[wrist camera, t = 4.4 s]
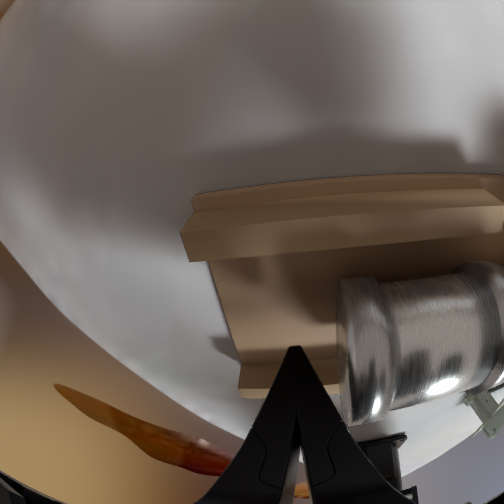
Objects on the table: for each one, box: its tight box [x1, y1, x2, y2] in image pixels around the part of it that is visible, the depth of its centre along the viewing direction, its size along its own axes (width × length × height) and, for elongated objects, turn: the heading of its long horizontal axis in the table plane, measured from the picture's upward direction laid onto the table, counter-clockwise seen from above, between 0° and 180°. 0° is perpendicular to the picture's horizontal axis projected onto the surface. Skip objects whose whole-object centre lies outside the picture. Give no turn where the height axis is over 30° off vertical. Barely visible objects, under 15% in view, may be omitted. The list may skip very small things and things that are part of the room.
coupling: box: [336, 260, 504, 426], centre depth 8 cm, size 5×6×5 cm
